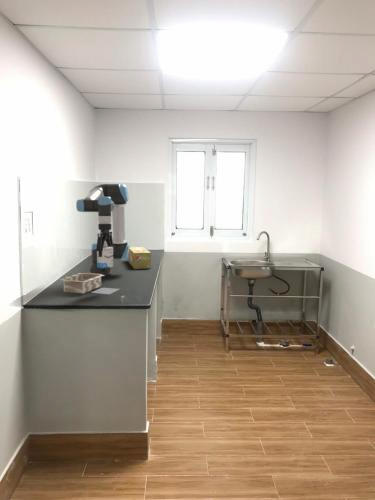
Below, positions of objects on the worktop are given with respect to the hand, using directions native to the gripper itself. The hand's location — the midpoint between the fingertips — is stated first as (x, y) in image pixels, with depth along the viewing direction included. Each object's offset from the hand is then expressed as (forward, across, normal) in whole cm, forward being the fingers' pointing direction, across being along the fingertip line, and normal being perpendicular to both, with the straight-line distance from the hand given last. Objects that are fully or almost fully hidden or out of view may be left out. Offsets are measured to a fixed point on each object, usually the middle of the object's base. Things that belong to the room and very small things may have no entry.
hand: (105, 261), depth 249 cm
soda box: (+19, -95, -19) cm, 99 cm away
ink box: (+4, 0, 0) cm, 4 cm away
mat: (+18, 0, 0) cm, 18 cm away
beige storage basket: (+18, -2, -16) cm, 24 cm away
